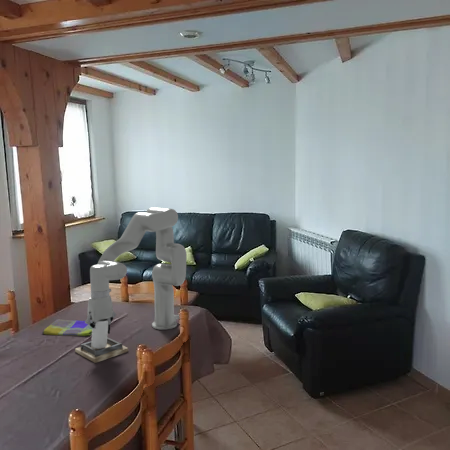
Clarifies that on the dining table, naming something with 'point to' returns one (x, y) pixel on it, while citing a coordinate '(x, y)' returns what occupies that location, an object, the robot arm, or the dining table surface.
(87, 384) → the dining table surface
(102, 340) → the can
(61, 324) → the dish towel
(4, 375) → the dining table surface
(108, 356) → the square tray
